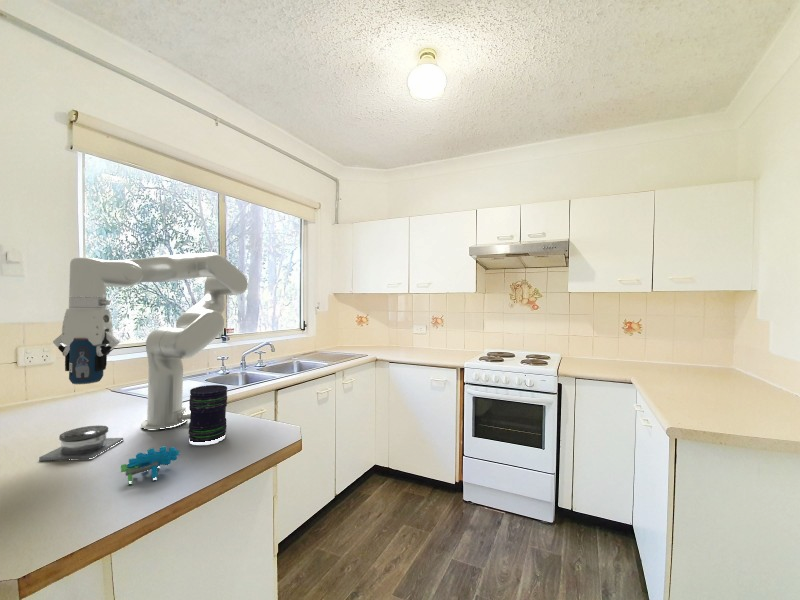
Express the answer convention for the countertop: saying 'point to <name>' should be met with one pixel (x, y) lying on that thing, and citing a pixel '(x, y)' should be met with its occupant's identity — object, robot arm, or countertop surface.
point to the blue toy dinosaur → (149, 461)
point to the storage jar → (207, 413)
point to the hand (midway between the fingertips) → (85, 369)
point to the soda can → (83, 362)
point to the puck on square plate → (81, 444)
